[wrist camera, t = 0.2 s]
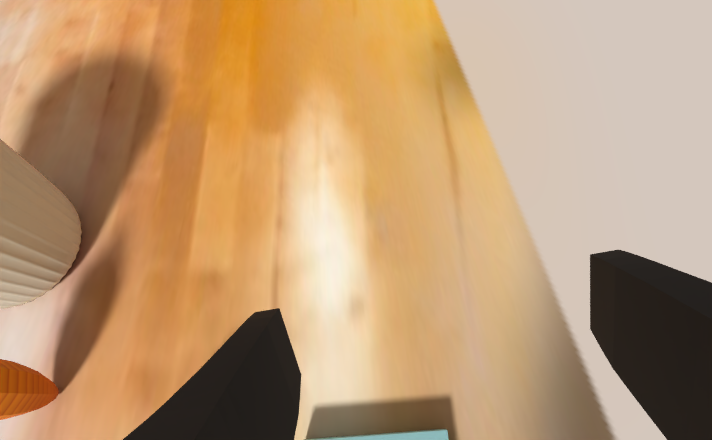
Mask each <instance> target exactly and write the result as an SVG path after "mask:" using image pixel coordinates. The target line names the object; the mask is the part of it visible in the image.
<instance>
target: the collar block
mask: <svg viewBox="0 0 712 440" xmlns="http://www.w3.org/2000/svg"><path fill="white" fill-rule="evenodd" d="M305 440H449V439H448V432H447V430H446V429H435V430H422V431H408V432H395V433H382V434H369V435H355V436H342V437H329V438H316V439H305Z"/></svg>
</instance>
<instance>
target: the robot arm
mask: <svg viewBox="0 0 712 440" xmlns="http://www.w3.org/2000/svg"><path fill="white" fill-rule="evenodd" d="M590 310H591V311H590V322H591V323H590V324H591V325H590V329H591V331H592V333H593V335H594V336H595V338H596V340H597V342H598V344H599V345H600V347H601V349H602V351H603V352H604V354H605V356H606V357H607V359H608V361H609V362H610V364H611V366H612V368H613V369H614V370H615V372H616V373H617V374H618V376H619V377H620V379H621V380H622V381H623V383H624V384H625V385H626V386H627V388H628V389H629V390H630V392H631V393H632V394H633V396H634V397H635V398H636V400H637V401H638V402H639V403H640V405H641V406H642V407H643V409H644V410H645V411H646V413H647V414H648V415H649V417H650V418H651V419H652V420H653V422H654V423H655V424H656V426H657V427H658V428H659V430H660V431H661V432H662V433H663V435H664V436H665V437H666V439H667V440H712V283H711V282H708V281H706V280H703V279H700V278H697V277H695V276H692V275H689V274H687V273H684V272H681V271H678V270H676V269H673V268H671V267H668V266H665V265H663V264H660V263H657V262H655V261H652V260H649V259H646V258H644V257H640V256H638V255H634V254H632V253H629V252H625V251H621V250H614V251H608V252H603V253H597V254H592V255H590ZM300 386H301V373H300V370H299V367H298V364H297V361H296V358H295V355H294V352H293V349H292V346H291V343H290V340H289V337H288V334H287V330H286V327H285V324H284V321H283V318H282V315H281V312H280V309H279V308H278V309H272V310H266V311H260V312H255V313H254V314H253V315H251V316H250V317H249V318H248V319H247V320H246V321H245V322H244V323H243V324H242V325H241V326H240V327H239V329H238V330H237V331H236V332H235V333H234V334H233V335H232V336H231V337H230V338H229V339H228V340H227V341H226V342H225V343H224V344H223V346H222V347H221V348H220V349H219V350H218V351H217V352H216V353H215V354H214V355H213V356H212V357H211V358H210V359H209V360H208V361H207V362H206V363H205V364H204V365H203V367H202V368H201V369H200V370H199V371H198V372H197V373H196V374H195V375H194V376H192V377H191V378H190V379H189V380H188V381H187V382H186V383H185V384H184V385H183V386H182V387H181V388H180V389H179V390H178V391H177V392H176V393H175V394H174V395H173V396H172V397H171V398H170V399H169V400H168V401H167V402H166V403H165V404H164V405H162V406H161V407H160V408H159V409H158V410H157V411H156V412H155V413H154V414H152V415H151V416H150V417H149V418H148V419H147V420H146V421H144V422H143V423H142V424H141V425H140V426H139V427H137V428H136V429H135V430H134V431H132V432H131V433H130V434H129V435H128V436H126V437H125V438H124V439H123V440H294V436H295V431H296V426H297V420H298V414H299V402H300Z"/></svg>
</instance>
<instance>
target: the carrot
mask: <svg viewBox="0 0 712 440" xmlns="http://www.w3.org/2000/svg"><path fill="white" fill-rule="evenodd" d="M57 395H58V388H57V387H56V385H55V384H54V383H53V382H52V381H50V380H49V379H48V378H46V377H45V376H43V375H42V374H41V373H39V372H38V371H35V370H33V369H31V368H28V367H26V366H23V365H21V364H18V363H15V362H12V361H7V360H2V359H0V420H2V419H7V418H10V417H14V416H18V415H22V414H25V413H28V412H31V411H34V410H37V409H39V408H41V407H43V406H45V405H47V404H49V403H50V402H51V401H53V400H54V399H55V398H56V397H57Z"/></svg>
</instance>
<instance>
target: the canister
mask: <svg viewBox="0 0 712 440" xmlns="http://www.w3.org/2000/svg"><path fill="white" fill-rule="evenodd" d="M81 234H82V230H81V222H80V220H79V215H78V213H77V211H76V210H75V208H74V206H73V204H72V203H71V202H70V201H69V200H68V199H67V197H66V196H65V195H64V194H63V193H62V192H61V191H60V190H59V189H58V188H57V187H55V186H54V185H53V184H52V183H51V182H50V181H49V180H48V179H47V178H45V177H44V176H43V175H42V174H41V173H40V172H39V171H38V170H36V169H35V168H34V167H33V166H32V165H31V164H29V163H28V162H27V161H26V160H25V159H23V158H22V157H21V156H20V155H19V154H17V153H16V152H15V151H14V150H13V149H11V148H10V147H9V146H8V145H7V144H6V143H4V142H3V141H2V140H1V139H0V309H6V308H11V307H14V306H20V305H23V304H25V303H26V302H31V301H33V300H34V299H36V298H37V297H40V296H42V295H44V294H45V292H47V291H49V290H51V289H52V288H53V286H54V285H56V284H57V283H59V282H60V280H61V278H62V277H63V276H65V275H66V273H67V271H68V270H69V268H71V267H72V263H73V261H74V260H75V259H76V255H77V252H78V251H79V245H80V243H81Z"/></svg>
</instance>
